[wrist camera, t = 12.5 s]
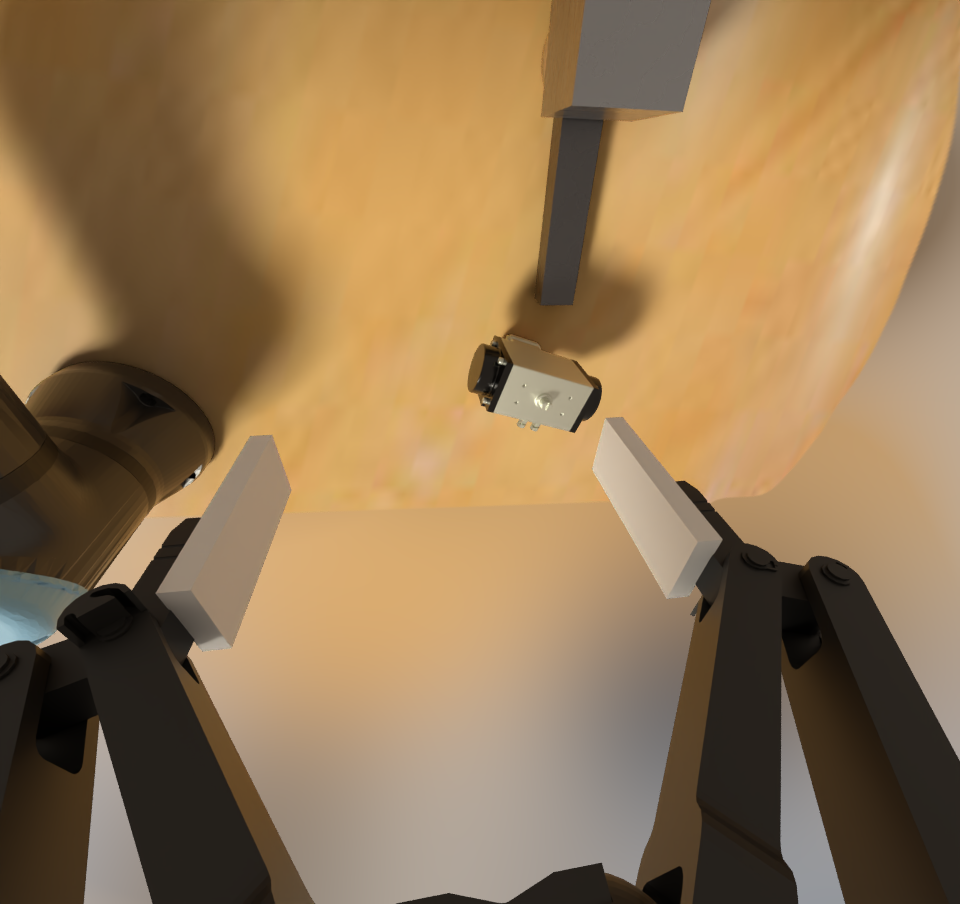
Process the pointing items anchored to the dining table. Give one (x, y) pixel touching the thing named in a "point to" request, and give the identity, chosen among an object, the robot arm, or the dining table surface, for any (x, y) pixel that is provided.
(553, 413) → the pneumatic valve
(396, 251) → the dining table surface
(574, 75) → the gray cube
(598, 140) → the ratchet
